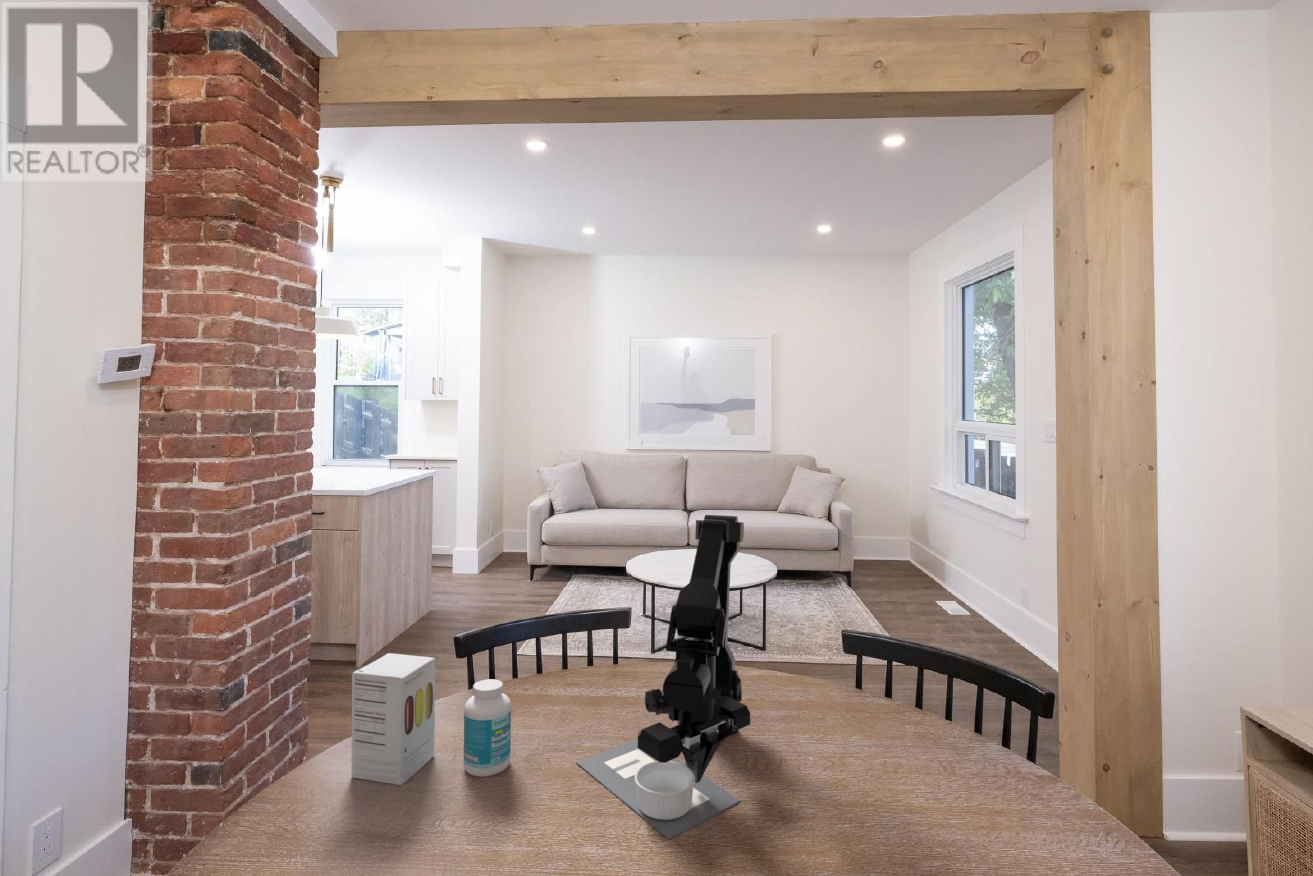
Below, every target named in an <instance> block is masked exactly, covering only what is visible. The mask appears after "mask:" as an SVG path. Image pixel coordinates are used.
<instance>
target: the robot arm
mask: <svg viewBox="0 0 1313 876" xmlns="http://www.w3.org/2000/svg"><path fill="white" fill-rule="evenodd" d="M744 536H745V524H744V522H739V518H738V516H737V515H735V516H734V515H719V514H717V515H716V514H705V515H704V518H703V520H702V519H701V520H700V519H696V520H695V537H694V538H695V540H697V541H698V542H697V547H696V552H695V556H694V561H693V566H692V571H691V576H690V579H689V582H688V583H687V584H686V585H685V586H684V587H682V588H681V589H680V590H679V591H678V596H677V598H676V603H675V604H673V605H672V607H671V610H670V611H671V612H670V616H669V617H670V618H669V625H668V631H667V638H666V644H665V651H666V652H673V653H675V660H674V663H673V665H672V667H671V668H670V670H669V671H668V674H667V676H665V678H664V681H663V685H662V690H661V689H660V688H656V689H655V688H652V689H648V690H647V691H645V695H644V696H645V697H644V705H645V709H646V711H647V712H648V713H655V716H656V715H657V716H660V715H661V714H663V715H665V714H666V715H668V719H669V720H671V722H675V721H676V722H677V725H675V726H672V727H668V726H667V725H665V724H664V723H661V721H660V722H656V723H654V724H653V725H652V724H651V725H649V726H646V727H643V728H642V729H641V730H639V732H638V734H637V738H638V748H639V749H640V750H642V751H643V752H645V753H646V754H648V755H649V756H651V757H652V758H654V759H655V760H657V761H658V762H661V763H666V762H668V761H670V760H672V759H675V758H677V759H678V758H679V757H680V756H681V754H682V756H683V759H684V761H685V764H686V765H687V767H689V768H690V769H691V770H692V771H693V773H694V775H695V783H698V782H700V780H701V778H702V776H704V774H705V773H706V770H707V769H708V766H709V764H710V763H711V761H712V759H713V757H714V755H715V753H717V751H718V749H719V747H720V745H721V744H722V742H725V738H728V737H730V736H732V735H734V734H737V733H739V730H741V729H744V728H745V727H748V726H750V725H751V711H750V710H749V708H748V706H747V705H746V704H744V703H742V700H743V698H742V697H743V688H742V687H743V686H742V678H740V677H739V671H738V670H736V658H735V656H734V655H733V653H732V650H731V649H730V647H729V645H728V635H729V633H728V632H729V614H730V612H729V610H730V608H729V607H730V592H731V591H730V588H731V586H730V585H731V567H732V562H733V560H734V559H735V558H736V556H737V555H738V553H739V552H740V550H741V549H740V548H741V543H742V542H744V538H745V537H744ZM676 632H677V636H678V637H682V639H681V638H675V637H676ZM683 638H687V639H683Z"/></svg>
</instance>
